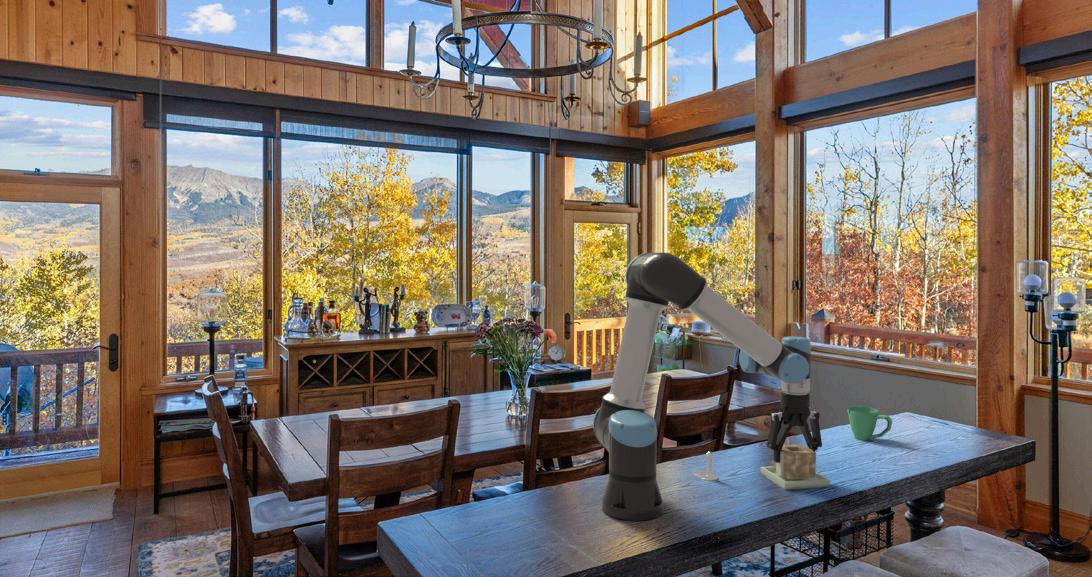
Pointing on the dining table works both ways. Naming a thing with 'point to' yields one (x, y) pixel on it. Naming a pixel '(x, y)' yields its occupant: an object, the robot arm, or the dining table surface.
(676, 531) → the dining table surface
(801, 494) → the dining table surface
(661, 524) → the dining table surface
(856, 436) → the mug
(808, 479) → the tray
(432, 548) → the dining table surface
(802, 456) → the bored block
